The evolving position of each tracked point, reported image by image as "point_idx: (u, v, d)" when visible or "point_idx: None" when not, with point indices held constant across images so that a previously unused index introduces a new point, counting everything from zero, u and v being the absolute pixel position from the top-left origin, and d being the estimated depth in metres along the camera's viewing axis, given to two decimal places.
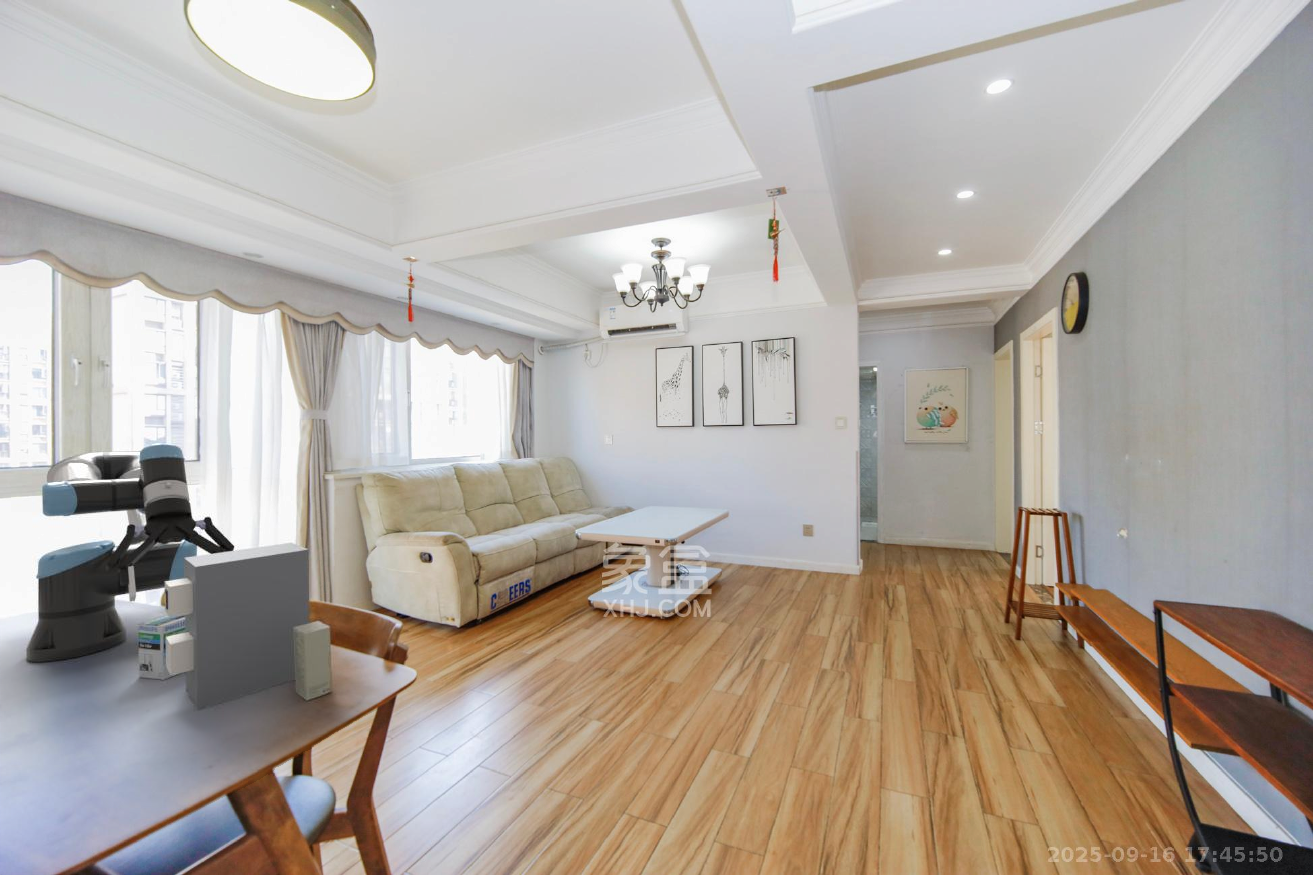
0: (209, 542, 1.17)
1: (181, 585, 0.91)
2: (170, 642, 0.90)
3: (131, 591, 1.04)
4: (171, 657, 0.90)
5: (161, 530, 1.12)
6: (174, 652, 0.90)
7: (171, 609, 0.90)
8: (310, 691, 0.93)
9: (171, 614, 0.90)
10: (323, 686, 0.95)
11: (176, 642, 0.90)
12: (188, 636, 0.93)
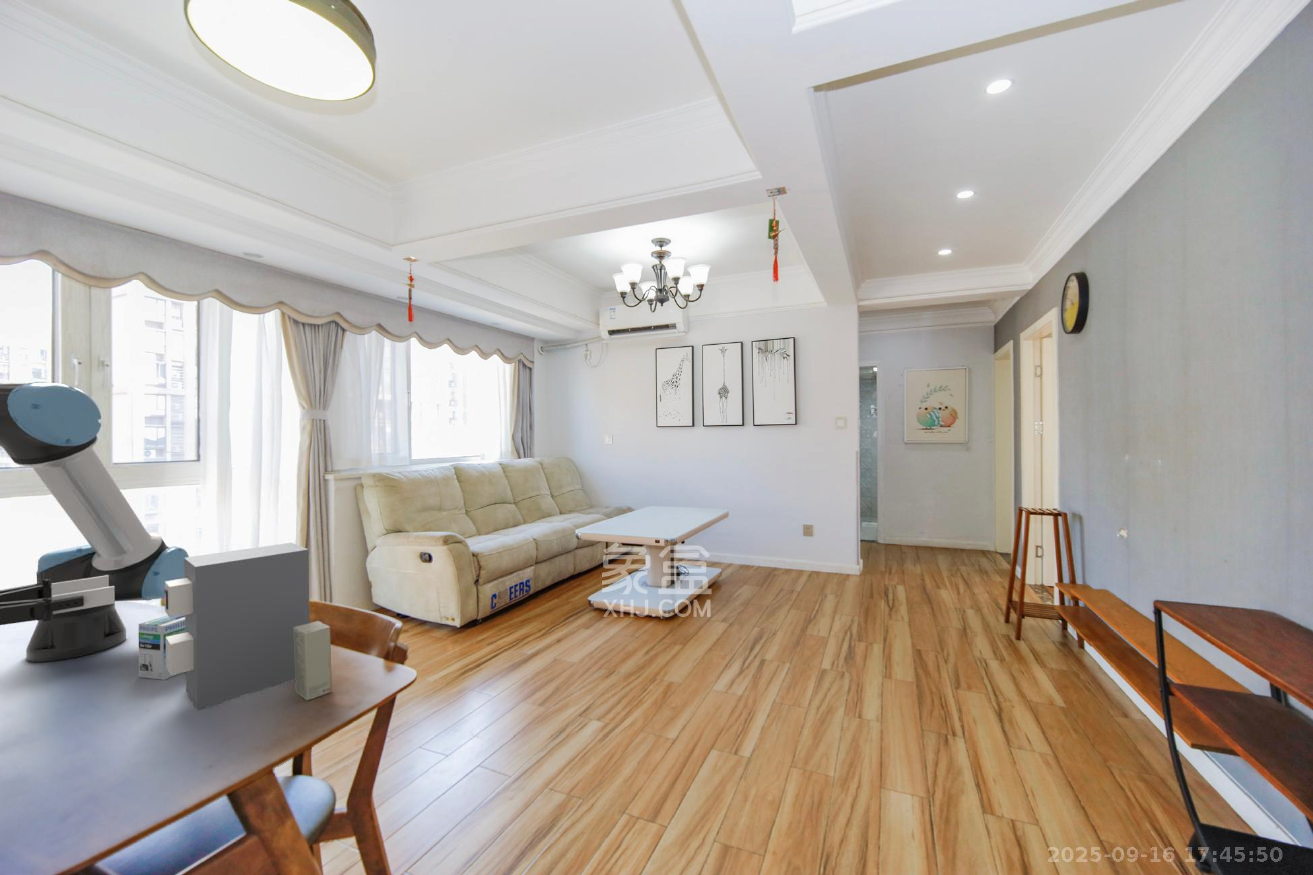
0: None
1: (181, 585, 0.91)
2: (170, 642, 0.90)
3: None
4: (171, 657, 0.90)
5: None
6: (174, 652, 0.90)
7: (171, 609, 0.90)
8: (310, 691, 0.93)
9: (171, 614, 0.90)
10: (323, 686, 0.95)
11: (176, 642, 0.90)
12: (188, 636, 0.93)
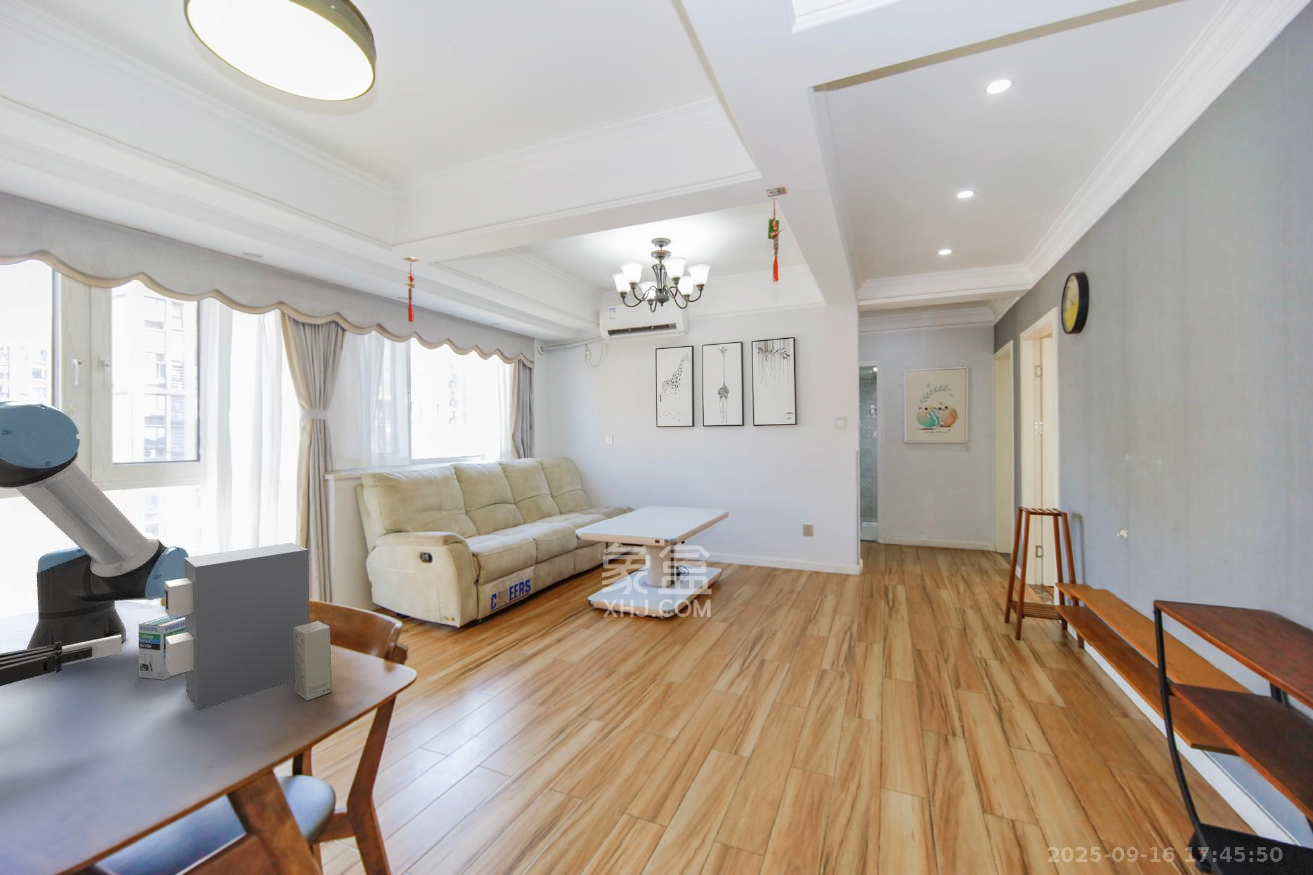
0: None
1: (181, 585, 0.91)
2: (170, 642, 0.90)
3: None
4: (171, 657, 0.90)
5: None
6: (174, 652, 0.90)
7: (171, 609, 0.90)
8: (310, 691, 0.93)
9: (171, 614, 0.90)
10: (323, 686, 0.95)
11: (176, 642, 0.90)
12: (188, 636, 0.93)
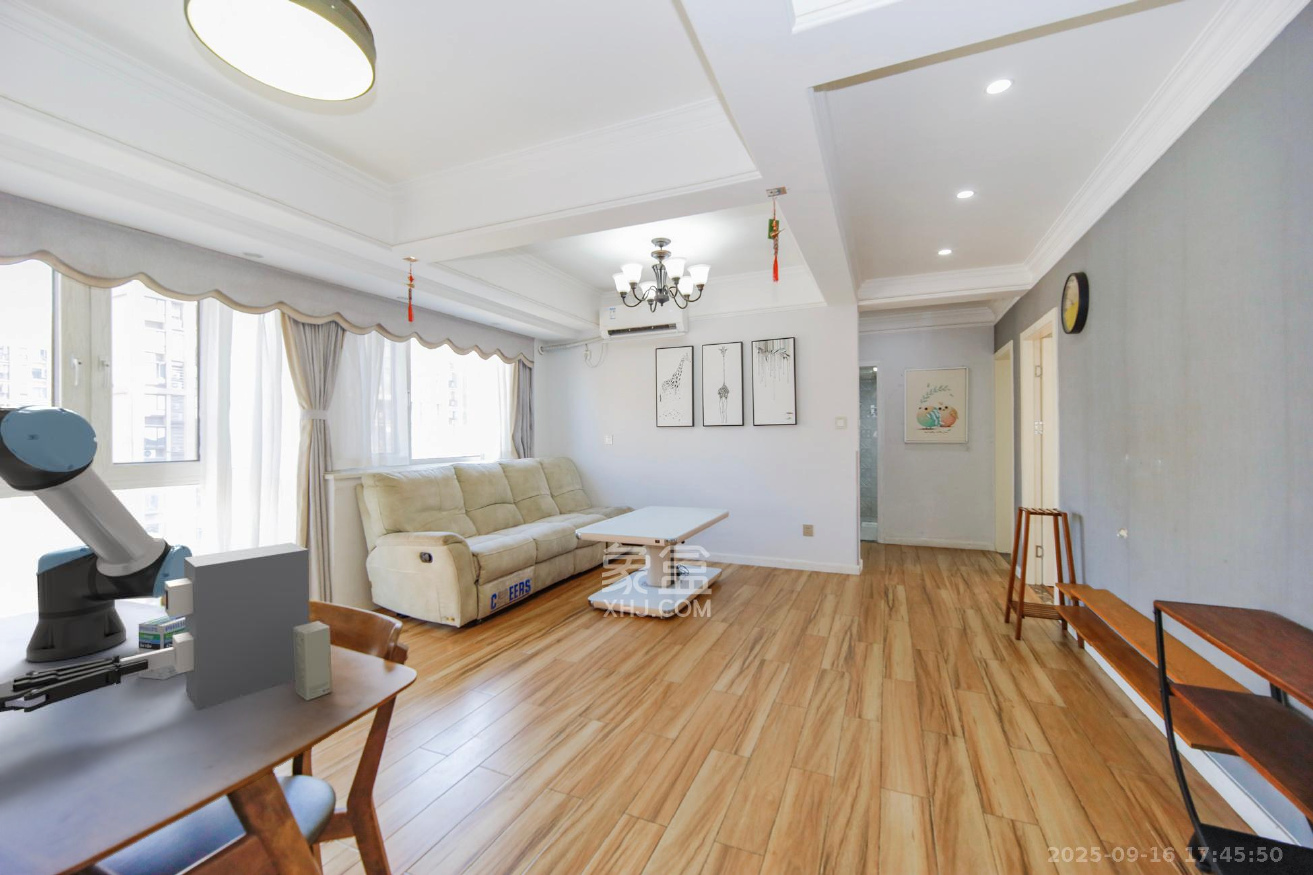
0: None
1: (181, 585, 0.91)
2: (177, 640, 0.91)
3: None
4: (178, 655, 0.90)
5: None
6: (181, 651, 0.90)
7: (171, 609, 0.90)
8: (310, 691, 0.93)
9: (171, 614, 0.90)
10: (323, 686, 0.95)
11: (183, 640, 0.91)
12: None
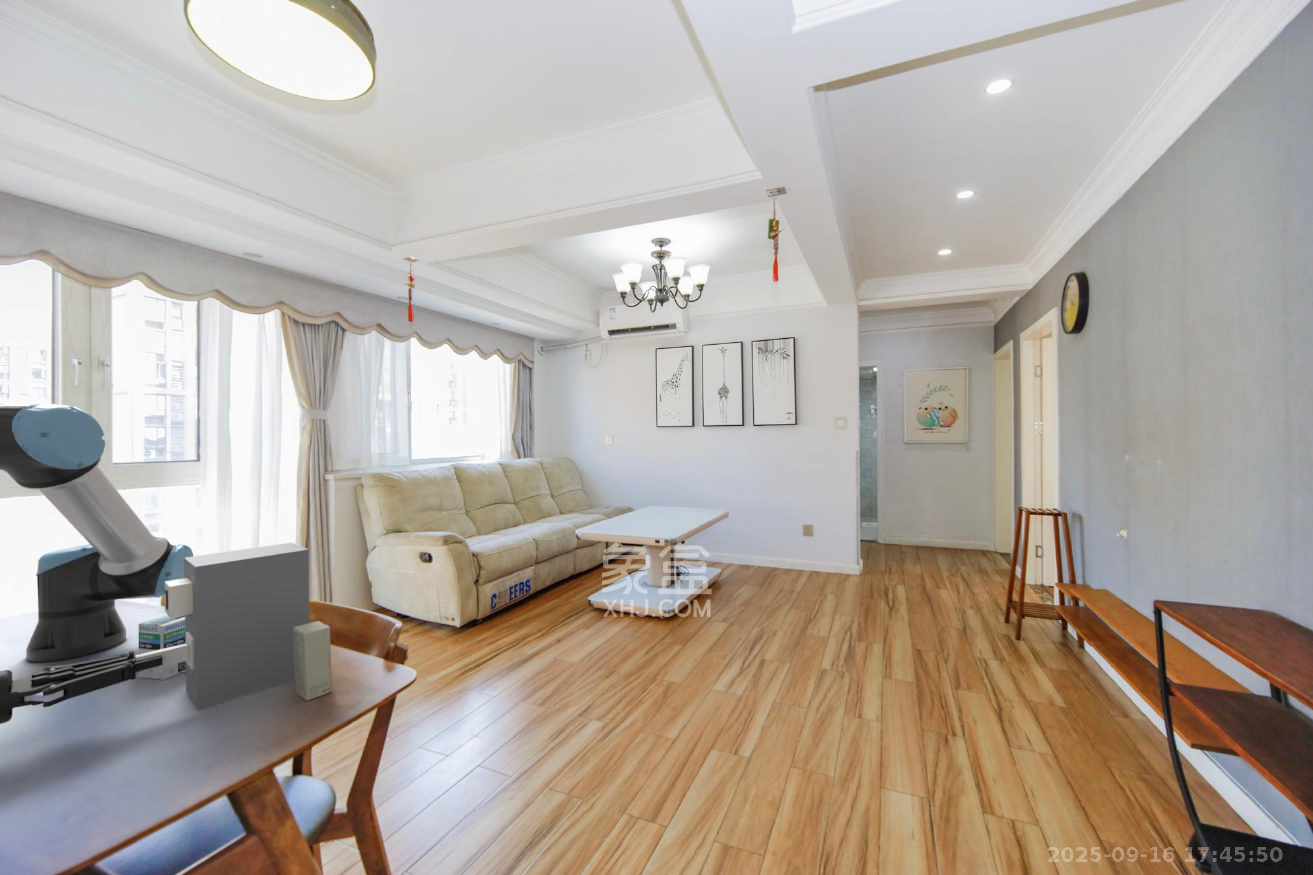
0: None
1: (181, 585, 0.91)
2: (191, 637, 0.92)
3: None
4: (192, 652, 0.92)
5: None
6: None
7: (171, 609, 0.90)
8: (310, 691, 0.93)
9: (171, 614, 0.90)
10: (323, 686, 0.95)
11: None
12: None
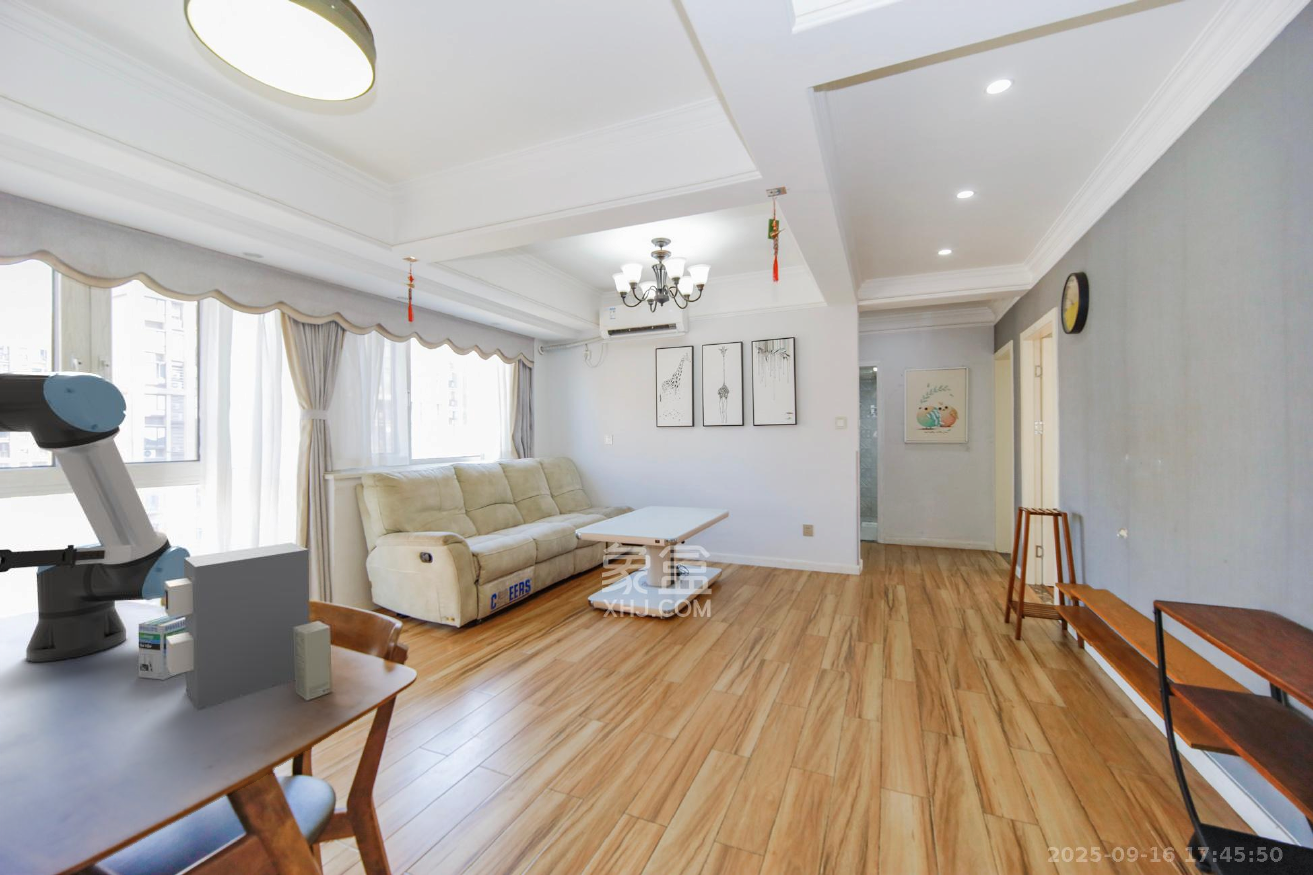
0: None
1: (181, 585, 0.91)
2: (171, 642, 0.90)
3: None
4: (172, 657, 0.90)
5: None
6: (175, 652, 0.90)
7: (171, 609, 0.90)
8: (310, 691, 0.93)
9: (171, 614, 0.90)
10: (323, 686, 0.95)
11: (177, 642, 0.90)
12: (188, 636, 0.93)
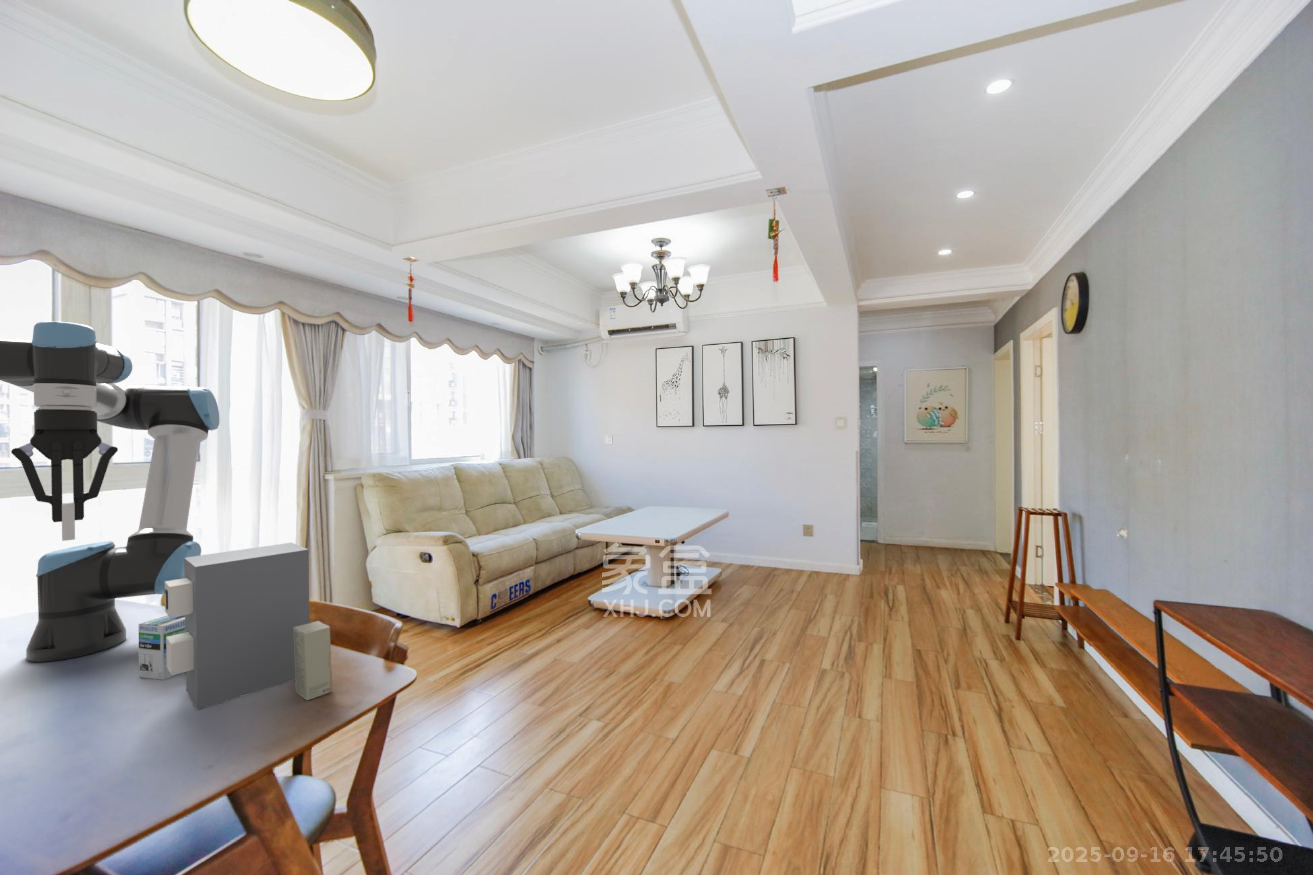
0: (80, 482, 0.94)
1: (181, 585, 0.91)
2: (171, 642, 0.90)
3: (63, 535, 0.92)
4: (172, 657, 0.90)
5: (59, 450, 0.92)
6: (175, 652, 0.90)
7: (171, 609, 0.90)
8: (310, 691, 0.93)
9: (171, 614, 0.90)
10: (323, 686, 0.95)
11: (177, 642, 0.90)
12: (188, 636, 0.93)
